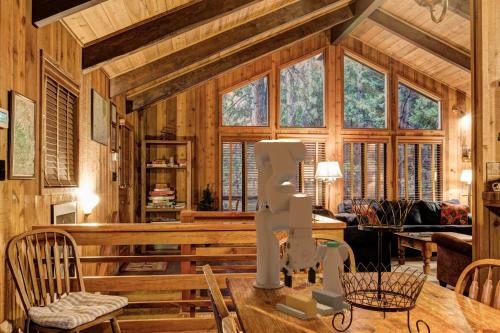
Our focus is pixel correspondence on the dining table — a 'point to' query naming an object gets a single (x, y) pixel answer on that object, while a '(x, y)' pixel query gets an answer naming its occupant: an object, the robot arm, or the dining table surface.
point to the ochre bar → (302, 303)
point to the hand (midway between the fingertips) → (300, 284)
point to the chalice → (323, 251)
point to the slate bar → (328, 299)
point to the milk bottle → (332, 269)
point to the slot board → (320, 312)
